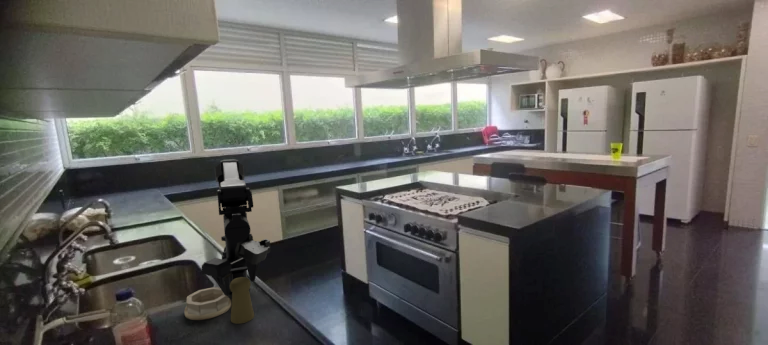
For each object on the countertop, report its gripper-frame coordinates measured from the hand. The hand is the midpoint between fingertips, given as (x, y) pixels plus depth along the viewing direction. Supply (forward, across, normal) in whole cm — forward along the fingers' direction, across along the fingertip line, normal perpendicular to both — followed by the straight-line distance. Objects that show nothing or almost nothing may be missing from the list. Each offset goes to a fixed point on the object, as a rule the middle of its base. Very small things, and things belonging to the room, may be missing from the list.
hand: (240, 288), depth 97 cm
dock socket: (+8, 0, +13) cm, 15 cm away
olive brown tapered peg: (+9, 0, 0) cm, 9 cm away
